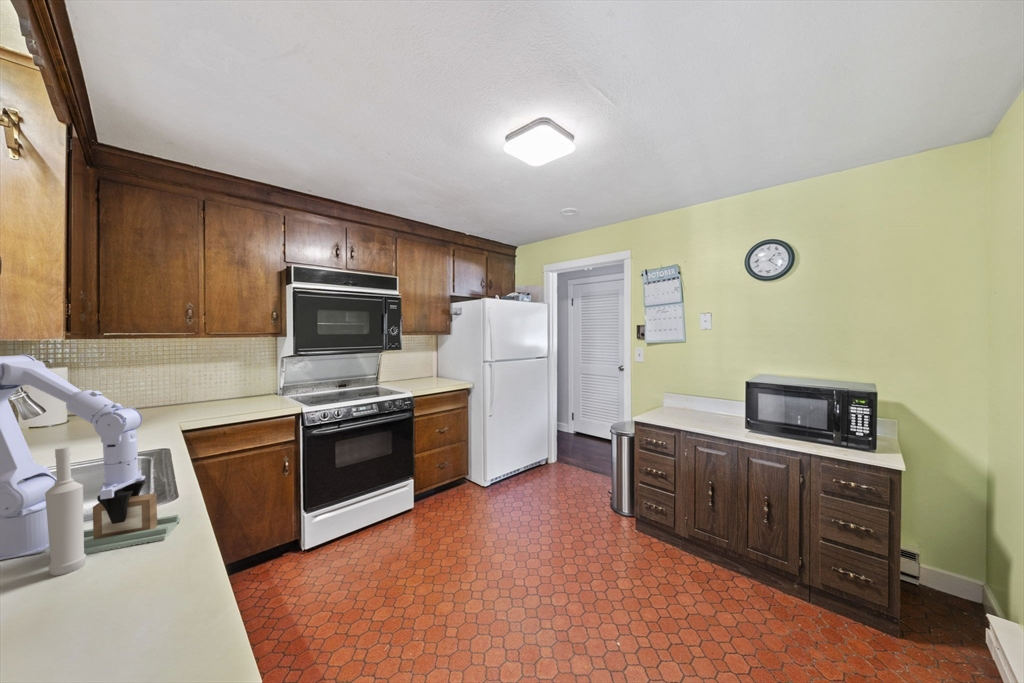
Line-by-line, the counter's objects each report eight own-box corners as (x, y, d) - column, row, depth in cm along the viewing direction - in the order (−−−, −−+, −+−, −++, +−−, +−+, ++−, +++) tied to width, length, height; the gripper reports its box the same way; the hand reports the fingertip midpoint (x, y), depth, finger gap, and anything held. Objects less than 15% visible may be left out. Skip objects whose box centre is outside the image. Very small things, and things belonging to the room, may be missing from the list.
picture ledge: (58, 559, 85) (58, 549, 85) (85, 537, 95) (84, 528, 94) (164, 539, 93) (164, 530, 93) (180, 521, 102) (179, 513, 102)
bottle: (61, 577, 79) (55, 451, 78) (41, 575, 80) (35, 451, 79) (93, 562, 84) (88, 444, 83) (74, 560, 85) (69, 443, 84)
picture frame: (93, 542, 90) (92, 507, 90) (102, 534, 94) (102, 500, 93) (150, 532, 94) (149, 499, 94) (157, 525, 98) (156, 493, 98)
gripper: (128, 467, 88) (131, 527, 89) (155, 450, 102) (157, 503, 102) (85, 472, 85) (88, 535, 86) (119, 454, 99) (121, 508, 99)
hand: (123, 518), depth 94 cm, fingers open, 4 cm apart
